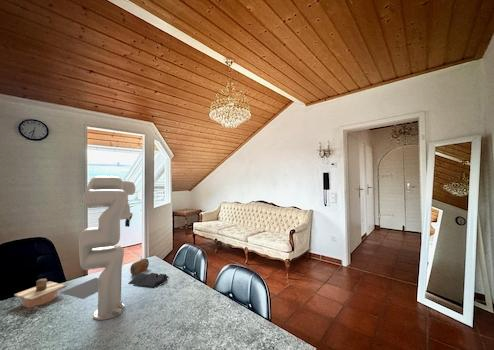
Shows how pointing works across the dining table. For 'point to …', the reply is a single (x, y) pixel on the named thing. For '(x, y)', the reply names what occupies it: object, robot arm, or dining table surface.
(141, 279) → the dark slate chunk
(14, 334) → the dining table surface
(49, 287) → the beech lid
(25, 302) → the terracotta bowl
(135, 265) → the tin
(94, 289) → the rubber mat
